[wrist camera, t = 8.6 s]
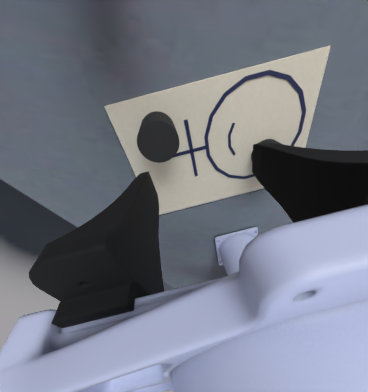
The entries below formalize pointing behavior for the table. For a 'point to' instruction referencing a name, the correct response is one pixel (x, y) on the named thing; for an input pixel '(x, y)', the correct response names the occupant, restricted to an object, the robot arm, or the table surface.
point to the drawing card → (223, 126)
